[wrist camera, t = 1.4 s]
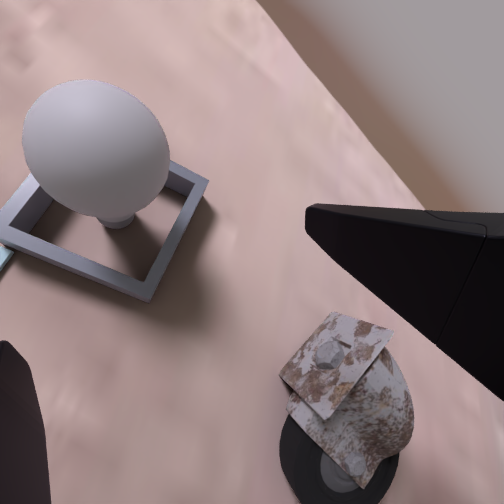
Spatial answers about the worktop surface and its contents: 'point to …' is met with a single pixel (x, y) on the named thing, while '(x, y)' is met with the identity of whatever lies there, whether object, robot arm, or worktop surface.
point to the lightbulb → (96, 150)
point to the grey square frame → (17, 237)
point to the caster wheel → (344, 414)
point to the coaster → (4, 256)
